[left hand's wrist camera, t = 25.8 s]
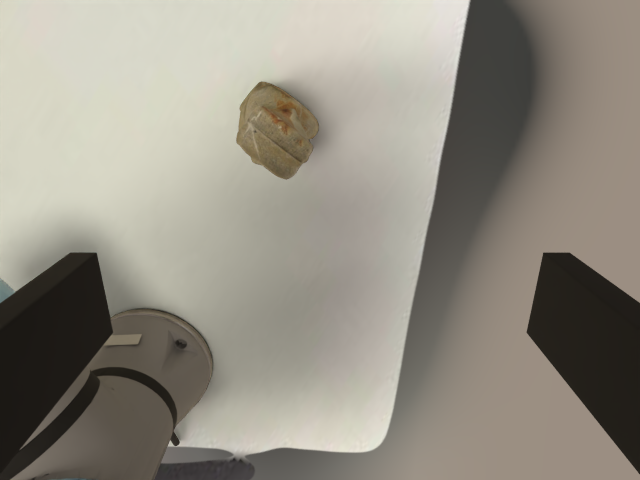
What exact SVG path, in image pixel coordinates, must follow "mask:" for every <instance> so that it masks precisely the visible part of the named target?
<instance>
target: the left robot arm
mask: <svg viewBox="0 0 640 480" xmlns="http://www.w3.org/2000/svg"><path fill="white" fill-rule="evenodd" d="M527 334H528V335H529V336H530V337H531V339H532V340H533V341H534V342H535V344H536V345H537V346H538V347H539V349H540V350H541V351H542V352H543V354H544V355H545V356H546V357H547V359H548V360H549V361H550V362H551V364H552V365H553V366H554V367H555V369H556V370H557V371H558V372H559V374H560V375H561V376H562V377H563V379H564V380H565V381H566V382H567V384H568V385H569V386H570V387H571V389H572V390H573V391H574V392H575V394H576V395H577V396H578V397H579V399H580V400H581V401H582V402H583V404H584V405H585V406H586V407H587V409H588V410H589V411H590V413H591V414H592V415H593V416H594V418H595V419H596V420H597V421H598V423H599V424H600V425H601V426H602V428H603V429H604V430H605V431H606V432H607V434H608V435H609V436H610V438H611V439H612V440H613V441H614V443H615V444H616V445H617V446H618V448H619V449H620V450H621V451H622V453H623V454H624V455H625V456H626V458H627V459H628V460H629V461H630V463H631V464H632V465H633V466H634V468H635V469H636V470H637V471H638V473H639V474H640V303H639V302H638V301H636V300H635V299H633V298H632V297H631V296H629V295H628V294H626V293H625V292H624V291H622V290H621V289H619V288H618V287H617V286H615V285H614V284H612V283H611V282H610V281H608V280H607V279H605V278H604V277H603V276H601V275H600V274H599V273H597V272H596V271H594V270H593V269H592V268H590V267H589V266H587V265H586V264H585V263H583V262H582V261H580V260H579V259H578V258H576V257H575V256H573V255H572V254H571V253H543V257H542V262H541V267H540V272H539V276H538V281H537V286H536V291H535V295H534V300H533V305H532V310H531V314H530V319H529V324H528V329H527ZM211 375H212V357H211V353H210V350H209V348H208V346H207V344H206V342H205V341H204V339H203V338H202V336H201V335H200V334H199V333H198V332H197V331H196V330H195V329H194V328H193V327H192V326H190V325H189V324H188V323H186V322H185V321H183V320H182V319H180V318H178V317H176V316H174V315H171V314H168V313H165V312H162V311H157V310H150V309H136V310H129V311H125V312H122V313H119V314H117V315H115V316H113V317H111V318H110V314H109V310H108V305H107V300H106V295H105V290H104V286H103V281H102V276H101V271H100V267H99V262H98V257H97V253H69V254H68V255H67V256H65V257H64V258H62V259H61V260H60V261H58V262H57V263H55V264H54V265H53V266H51V267H50V268H48V269H47V270H46V271H44V272H43V273H41V274H40V275H39V276H37V277H36V278H35V279H33V280H32V281H30V282H29V283H28V284H26V285H25V286H23V287H22V288H21V289H19V290H18V291H16V292H15V291H14V290H13V289H12V288H11V287H10V286H8V285H7V284H6V283H5V282H4V281H3V280H2V279H1V278H0V480H154V479H155V476H156V473H157V471H158V468H159V466H160V463H161V461H162V458H163V456H164V453H165V451H166V448H167V446H168V444H169V441H170V440H171V441H172V443H173V445H174V446H177V445H179V443H180V442H179V440H178V438H177V436H176V435H175V433H174V428H175V426H176V425H177V424H178V423H179V422H180V421H181V420H182V419H183V418H184V417H185V416H186V414H187V413H188V412H189V411H190V410H191V409H192V408H193V407H194V406H195V405H196V404H197V403H198V402H199V400H200V399H201V397H202V396H203V394H204V392H205V391H206V389H207V386H208V384H209V381H210V378H211Z"/></svg>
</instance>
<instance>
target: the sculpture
mask: <svg viewBox="0 0 640 480" xmlns="http://www.w3.org/2000/svg"><path fill="white" fill-rule="evenodd" d="M240 111H241V113H240V120H239V132H238V134H237V139H236V140H237V144H239V145H240V146H241V148H242V149H243V150H244V151H245V152H246V153H247V154H248V155H249V156H251V159H252V161H253V162H254V163H255V164H259V165H263V166H264V167H265V168H266V169H268V170H269V171H270V172H272V173H273V174H274V175H276V176H278V177H280V178H283V179H289V178H291V177H292V176H294V175H295V174H296V172H297V171H298V169H299V167H300V166H301V165H302V164H303V163H305V162H307V160H308V158H309V156H310V154H311V153H312V151H313V146H312V144H311V143H310V142H309V139H312V138H313V137H314V136H315V135H316V134H317V132H318V128H319V125H318V122H317V120H316V118H315V117H314V116H313V115H312V113H311V112H310V111H309V110H308V109H306V108H305V107H304V106H303V105H302V104H301V103H300V102H298V101H297V100H296V99H294V98H293V97H292V96H290V95H289V94H288V93H286V92H285V91H283V90H282V89H280V88H278V87H276V86H274V85H272V84H270V83H267V82H259V83H258V84H257V85H256V86H255V87H254V89H253V90H252V91H251V92H250V93H249V94H248V96H247V97H246V98H245V100H244V101H243V102H242V104H241V106H240Z"/></svg>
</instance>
